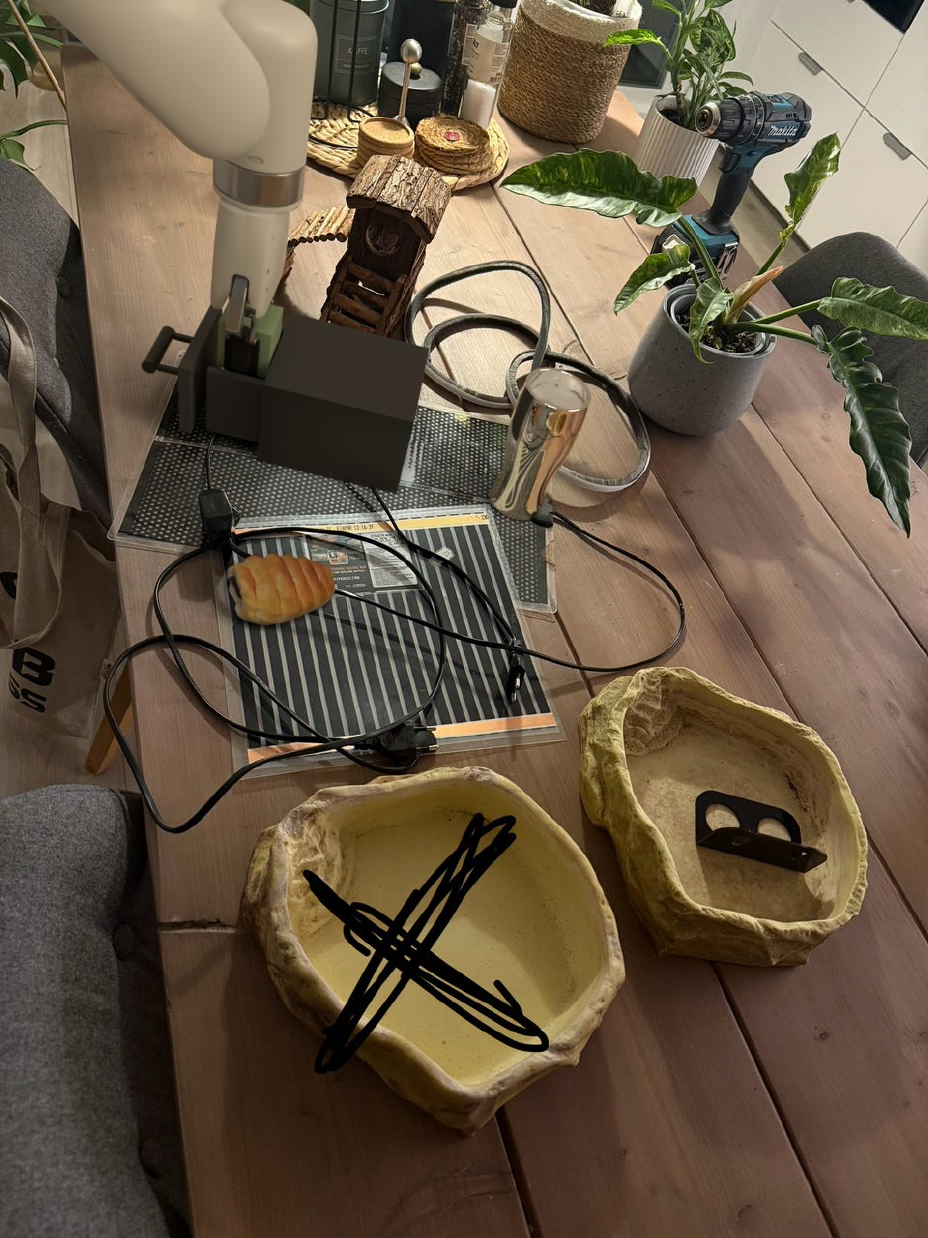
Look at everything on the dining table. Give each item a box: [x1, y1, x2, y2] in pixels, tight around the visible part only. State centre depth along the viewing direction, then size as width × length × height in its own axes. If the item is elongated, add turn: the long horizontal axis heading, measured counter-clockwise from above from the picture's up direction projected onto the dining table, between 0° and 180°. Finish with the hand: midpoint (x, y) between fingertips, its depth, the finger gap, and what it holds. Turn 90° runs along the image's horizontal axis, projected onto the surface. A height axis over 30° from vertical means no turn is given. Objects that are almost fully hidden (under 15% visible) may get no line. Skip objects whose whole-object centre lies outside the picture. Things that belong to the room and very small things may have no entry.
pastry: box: [226, 553, 336, 626], centre depth 78 cm, size 9×7×4 cm
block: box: [217, 301, 284, 378], centre depth 86 cm, size 5×5×5 cm
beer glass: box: [488, 367, 592, 521], centre depth 90 cm, size 7×7×15 cm
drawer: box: [141, 303, 286, 444], centre depth 90 cm, size 18×11×8 cm, turn 84°
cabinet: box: [257, 312, 430, 494], centre depth 91 cm, size 15×13×10 cm
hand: (248, 354), depth 87 cm, fingers closed on block, 5 cm apart
